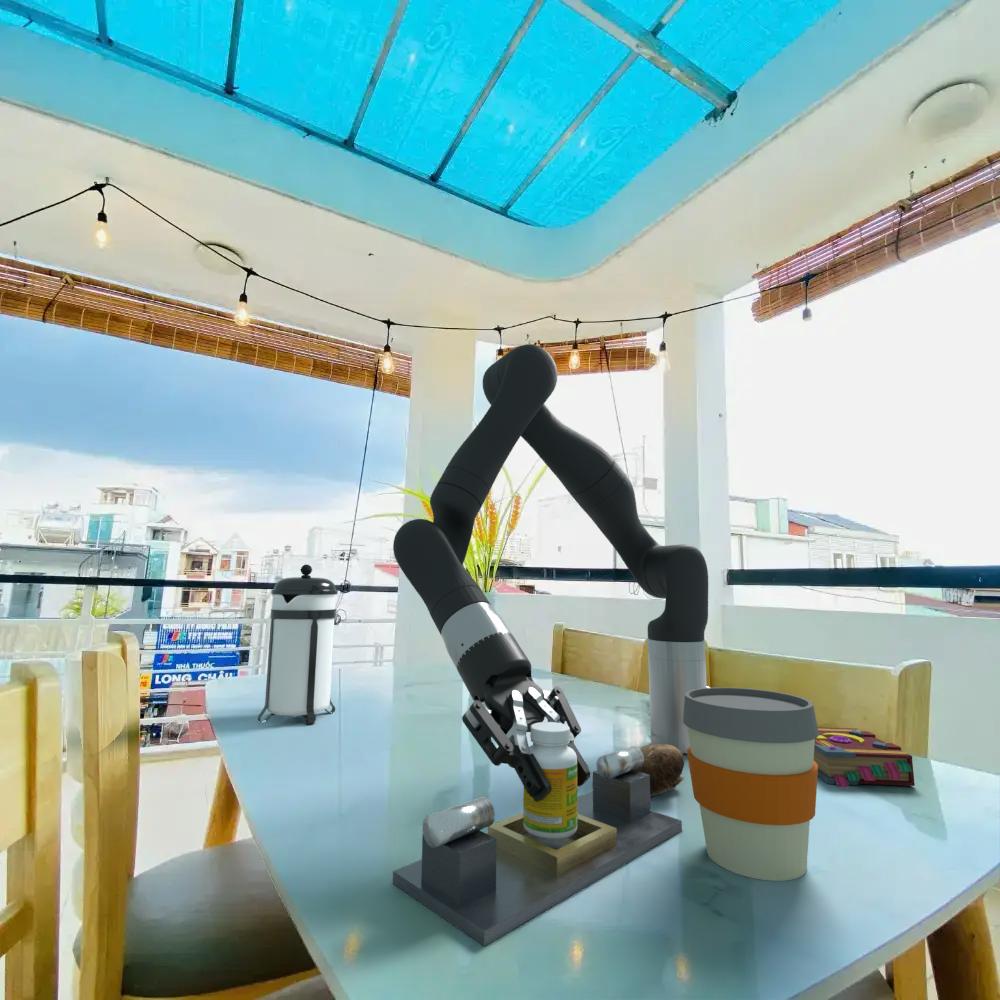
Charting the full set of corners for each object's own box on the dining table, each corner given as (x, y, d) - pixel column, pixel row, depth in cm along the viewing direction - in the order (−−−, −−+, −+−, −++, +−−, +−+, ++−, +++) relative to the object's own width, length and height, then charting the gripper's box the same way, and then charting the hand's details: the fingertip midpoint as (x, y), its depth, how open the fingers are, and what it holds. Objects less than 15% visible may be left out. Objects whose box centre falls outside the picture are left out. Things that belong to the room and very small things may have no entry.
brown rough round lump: (699, 760, 75) (672, 722, 75) (701, 804, 68) (671, 762, 68) (648, 780, 79) (622, 744, 78) (644, 824, 71) (615, 785, 71)
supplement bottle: (575, 843, 53) (574, 735, 54) (519, 837, 54) (519, 731, 55) (579, 820, 58) (578, 721, 59) (527, 815, 59) (528, 718, 61)
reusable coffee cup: (855, 867, 53) (842, 702, 56) (779, 907, 47) (768, 717, 49) (737, 820, 64) (730, 683, 66) (661, 847, 57) (656, 693, 59)
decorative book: (860, 756, 90) (857, 723, 90) (923, 793, 74) (919, 753, 74) (785, 753, 91) (782, 721, 92) (831, 789, 75) (828, 749, 76)
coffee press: (352, 719, 110) (359, 564, 114) (266, 730, 101) (277, 562, 105) (325, 703, 124) (332, 566, 129) (247, 712, 115) (257, 564, 120)
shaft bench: (594, 798, 70) (593, 736, 71) (684, 829, 62) (681, 757, 63) (387, 885, 50) (391, 795, 51) (479, 949, 41) (480, 839, 42)
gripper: (451, 633, 59) (535, 784, 49) (543, 627, 69) (629, 752, 59) (419, 679, 62) (492, 830, 52) (512, 666, 72) (588, 792, 62)
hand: (564, 788), depth 55 cm, fingers closed on supplement bottle, 5 cm apart
